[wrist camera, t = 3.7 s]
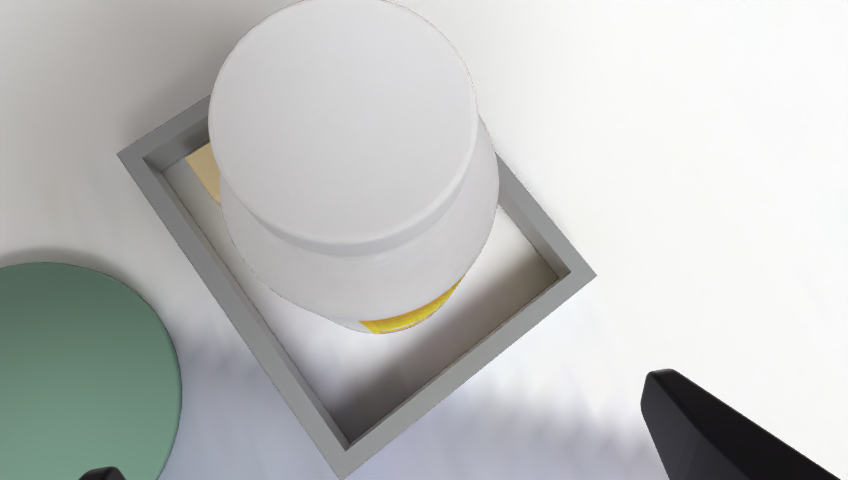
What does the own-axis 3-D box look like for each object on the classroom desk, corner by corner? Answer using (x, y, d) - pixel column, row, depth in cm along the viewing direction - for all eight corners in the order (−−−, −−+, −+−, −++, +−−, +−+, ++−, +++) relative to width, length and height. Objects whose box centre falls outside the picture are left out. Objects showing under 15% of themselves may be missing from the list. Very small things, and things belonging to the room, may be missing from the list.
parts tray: (583, 281, 21) (597, 275, 20) (345, 471, 20) (340, 481, 18) (369, 20, 24) (366, -4, 22) (136, 168, 22) (116, 154, 20)
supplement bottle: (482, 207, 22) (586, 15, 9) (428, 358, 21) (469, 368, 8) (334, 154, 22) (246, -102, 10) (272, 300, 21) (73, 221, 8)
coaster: (237, 436, 20) (232, 439, 19) (-34, 642, 18) (-49, 652, 17) (89, 211, 21) (80, 207, 21) (-173, 380, 19) (-191, 381, 19)
